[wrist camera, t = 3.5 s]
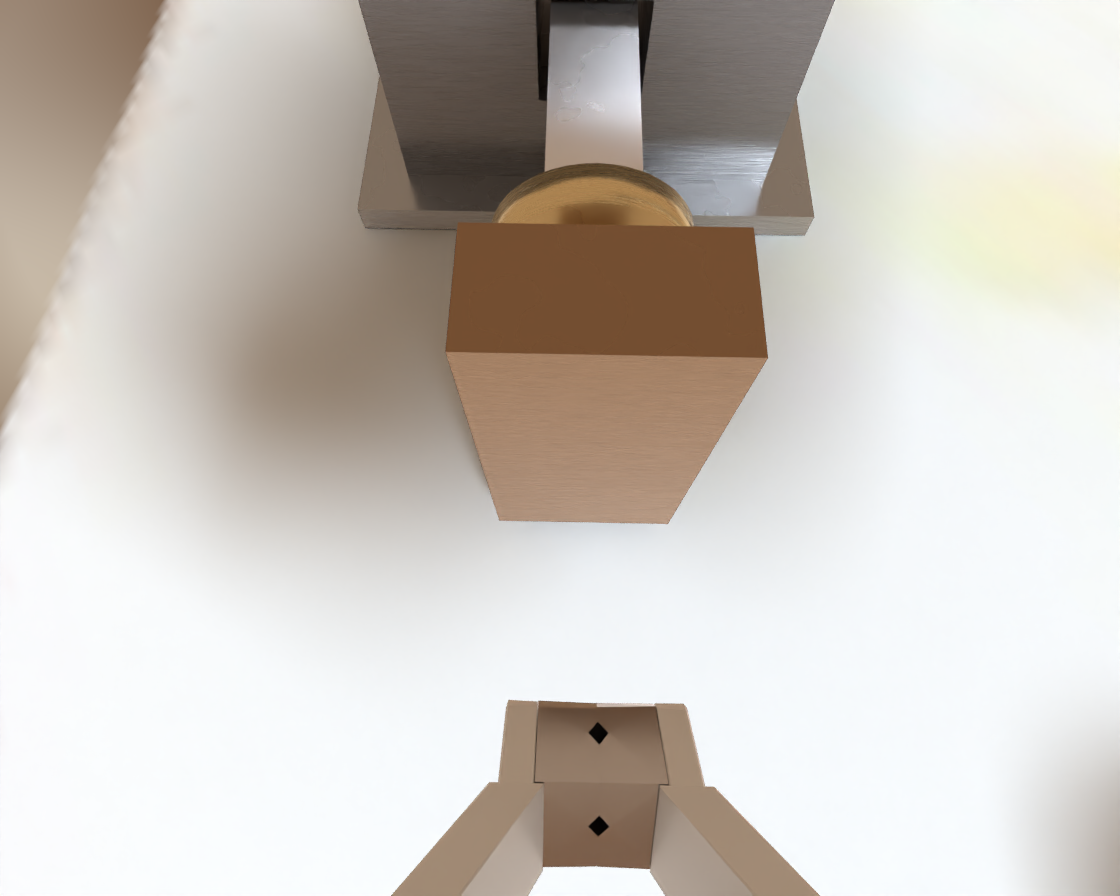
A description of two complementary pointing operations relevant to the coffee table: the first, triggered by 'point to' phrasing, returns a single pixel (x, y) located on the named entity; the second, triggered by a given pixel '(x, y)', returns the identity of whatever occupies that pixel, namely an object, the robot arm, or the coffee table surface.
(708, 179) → the bearing block
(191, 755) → the coffee table surface
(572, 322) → the shaft
